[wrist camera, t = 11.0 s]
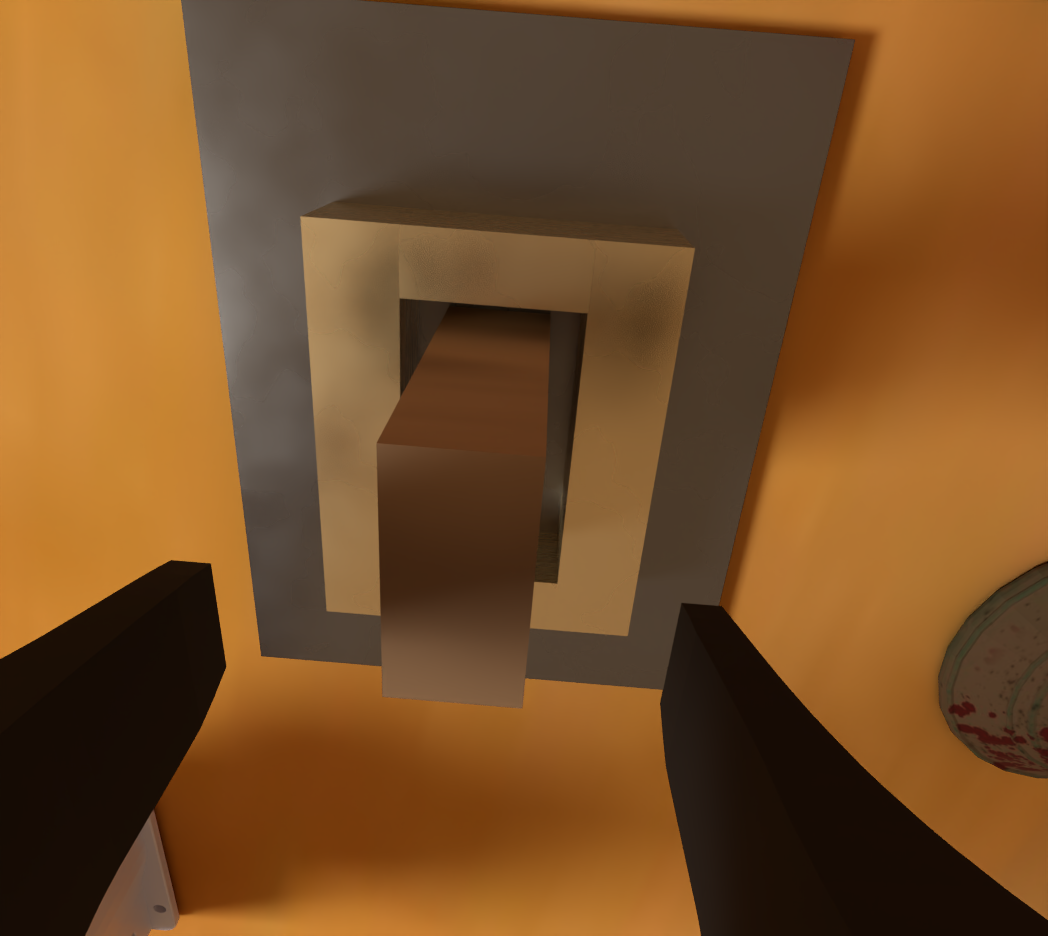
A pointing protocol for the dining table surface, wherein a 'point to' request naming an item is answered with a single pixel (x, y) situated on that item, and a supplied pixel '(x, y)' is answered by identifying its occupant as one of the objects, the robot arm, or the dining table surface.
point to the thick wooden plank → (464, 510)
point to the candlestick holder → (1002, 678)
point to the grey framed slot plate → (505, 286)
